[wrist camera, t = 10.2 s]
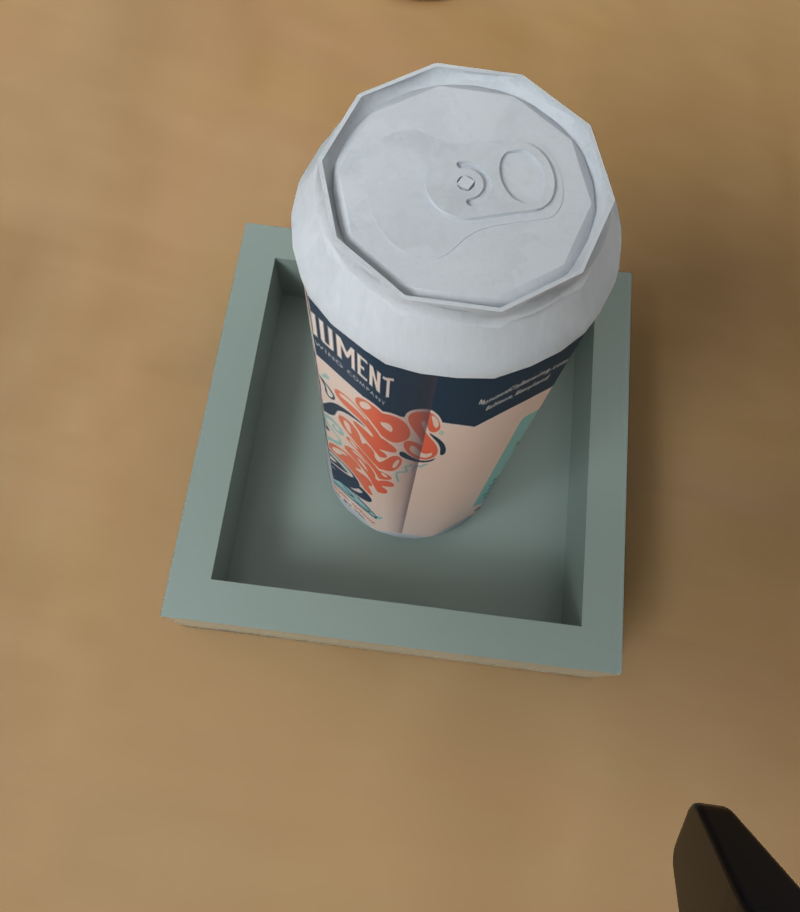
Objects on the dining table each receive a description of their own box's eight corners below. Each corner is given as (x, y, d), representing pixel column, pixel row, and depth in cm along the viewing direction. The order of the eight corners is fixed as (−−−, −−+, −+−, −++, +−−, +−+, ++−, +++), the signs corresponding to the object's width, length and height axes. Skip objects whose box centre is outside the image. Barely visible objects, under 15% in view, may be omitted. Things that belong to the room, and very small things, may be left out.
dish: (589, 677, 20) (621, 674, 18) (185, 626, 20) (160, 615, 18) (603, 317, 24) (632, 273, 21) (258, 272, 24) (246, 222, 21)
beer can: (314, 396, 22) (260, 58, 10) (474, 370, 22) (591, 21, 11) (342, 557, 20) (315, 372, 9) (511, 526, 21) (692, 313, 9)
